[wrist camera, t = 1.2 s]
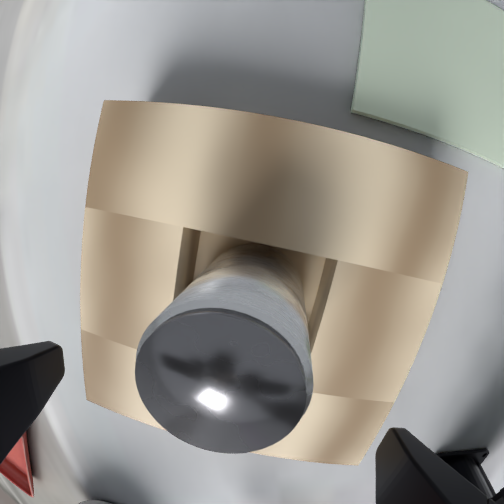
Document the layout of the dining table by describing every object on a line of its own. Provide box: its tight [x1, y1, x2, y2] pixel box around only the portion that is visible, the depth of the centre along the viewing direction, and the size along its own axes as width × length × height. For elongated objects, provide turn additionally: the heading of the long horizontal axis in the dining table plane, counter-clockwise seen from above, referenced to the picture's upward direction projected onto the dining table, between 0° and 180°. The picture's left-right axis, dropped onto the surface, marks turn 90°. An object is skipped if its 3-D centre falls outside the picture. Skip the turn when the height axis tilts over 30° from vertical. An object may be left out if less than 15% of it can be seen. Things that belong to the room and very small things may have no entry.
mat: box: [351, 0, 504, 169], centre depth 13 cm, size 12×12×1 cm
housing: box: [80, 100, 468, 465], centre depth 15 cm, size 16×16×4 cm
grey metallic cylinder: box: [135, 244, 314, 453], centre depth 12 cm, size 5×5×8 cm
